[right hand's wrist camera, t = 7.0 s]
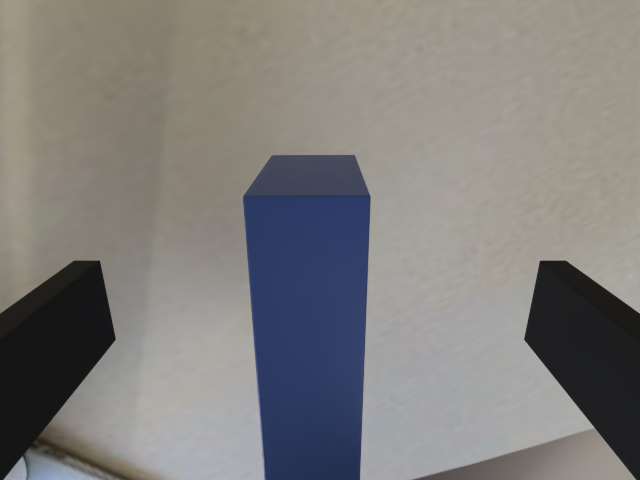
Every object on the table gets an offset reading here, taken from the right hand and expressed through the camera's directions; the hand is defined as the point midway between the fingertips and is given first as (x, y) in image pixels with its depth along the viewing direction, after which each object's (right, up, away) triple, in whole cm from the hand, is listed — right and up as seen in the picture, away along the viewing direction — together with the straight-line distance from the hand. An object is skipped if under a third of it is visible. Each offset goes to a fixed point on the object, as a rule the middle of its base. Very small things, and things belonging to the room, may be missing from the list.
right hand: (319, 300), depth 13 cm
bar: (0, -6, +14) cm, 16 cm away
